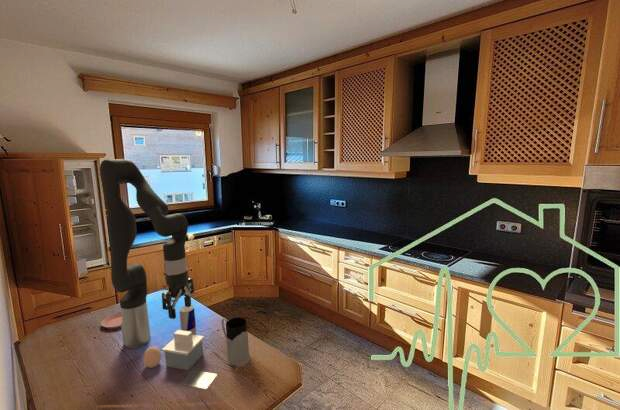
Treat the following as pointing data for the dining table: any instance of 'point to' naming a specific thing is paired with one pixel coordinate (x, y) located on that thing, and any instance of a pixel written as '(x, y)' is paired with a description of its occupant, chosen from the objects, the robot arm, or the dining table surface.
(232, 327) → the glass holder
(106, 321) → the plate
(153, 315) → the dining table surface
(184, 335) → the lid
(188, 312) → the beverage can
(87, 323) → the dining table surface
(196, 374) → the slate trivet
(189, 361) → the tin box
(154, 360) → the egg
